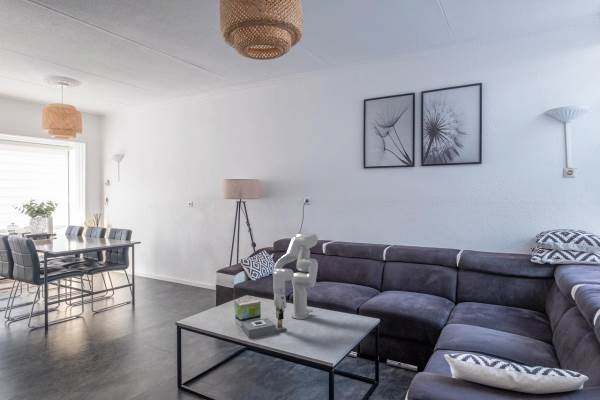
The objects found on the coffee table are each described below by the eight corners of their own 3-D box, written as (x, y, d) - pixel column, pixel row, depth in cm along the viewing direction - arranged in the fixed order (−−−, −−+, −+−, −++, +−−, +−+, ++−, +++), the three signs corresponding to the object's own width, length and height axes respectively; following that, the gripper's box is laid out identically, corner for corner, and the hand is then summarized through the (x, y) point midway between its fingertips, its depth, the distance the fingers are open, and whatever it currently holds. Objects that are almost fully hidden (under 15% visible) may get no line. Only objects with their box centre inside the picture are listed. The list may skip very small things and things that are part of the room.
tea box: (241, 327, 239) (240, 305, 239) (235, 323, 248) (234, 301, 247) (261, 322, 248) (260, 301, 247) (254, 318, 256) (254, 297, 256)
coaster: (283, 327, 238) (283, 326, 238) (288, 331, 230) (288, 330, 230) (272, 329, 234) (272, 328, 234) (277, 333, 227) (277, 332, 227)
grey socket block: (267, 325, 241) (267, 317, 241) (275, 332, 229) (275, 323, 229) (242, 330, 233) (241, 322, 233) (248, 338, 221) (248, 329, 221)
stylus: (281, 326, 234) (280, 308, 234) (283, 327, 231) (282, 309, 231) (277, 327, 233) (276, 308, 233) (278, 328, 230) (278, 310, 230)
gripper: (289, 292, 226) (290, 321, 226) (279, 286, 241) (280, 313, 241) (278, 294, 223) (279, 323, 223) (269, 288, 237) (269, 315, 238)
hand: (279, 318), depth 232 cm, fingers closed on stylus, 3 cm apart
